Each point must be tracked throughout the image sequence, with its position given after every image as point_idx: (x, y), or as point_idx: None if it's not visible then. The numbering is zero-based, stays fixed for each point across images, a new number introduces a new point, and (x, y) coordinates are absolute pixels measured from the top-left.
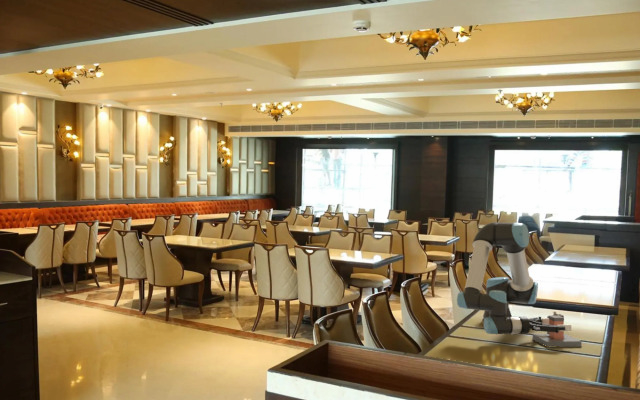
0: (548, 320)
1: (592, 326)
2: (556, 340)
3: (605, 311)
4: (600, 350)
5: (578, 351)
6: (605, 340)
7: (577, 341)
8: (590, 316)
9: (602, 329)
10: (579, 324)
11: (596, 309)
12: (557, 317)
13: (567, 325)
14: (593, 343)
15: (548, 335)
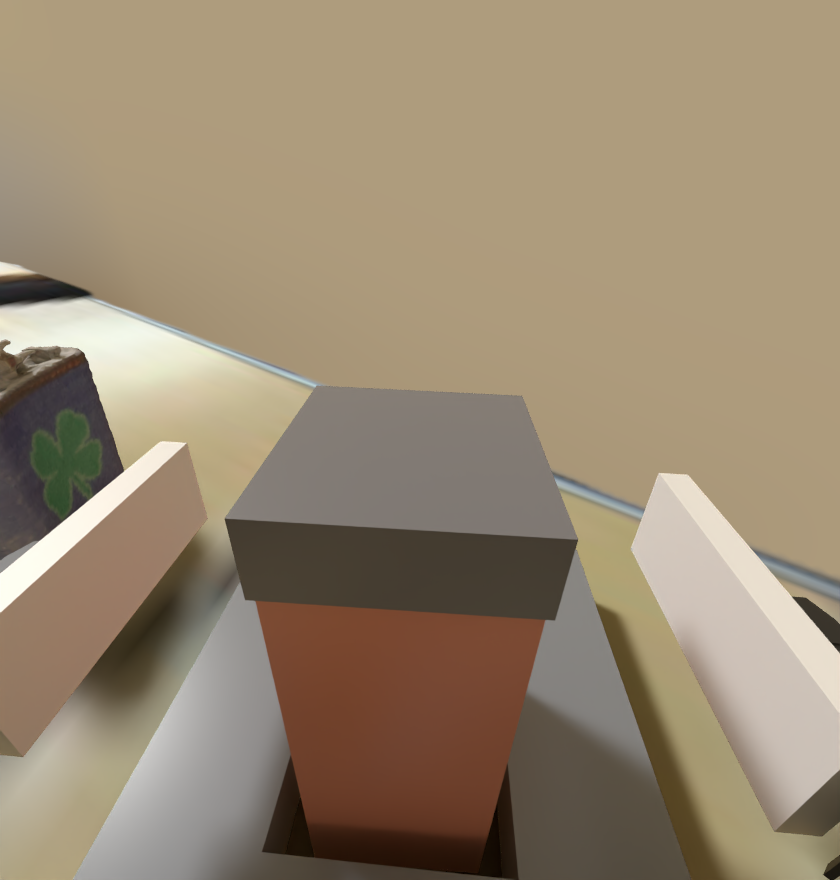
0: (105, 559)
1: (153, 356)
2: (604, 868)
3: (55, 290)
4: None
5: None
6: None
7: (587, 584)
8: (44, 317)
9: (219, 356)
10: None
11: (12, 290)
12: (511, 461)
13: (724, 526)
14: None
15: (237, 776)
